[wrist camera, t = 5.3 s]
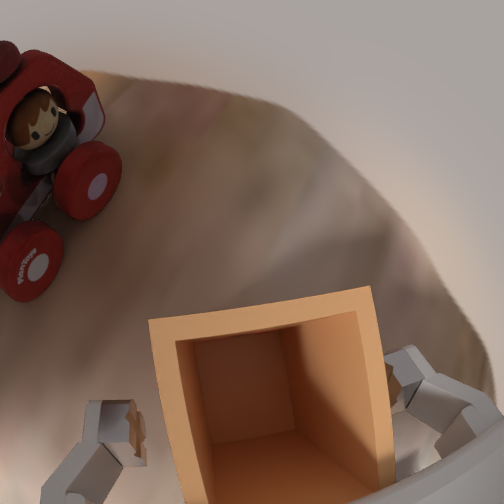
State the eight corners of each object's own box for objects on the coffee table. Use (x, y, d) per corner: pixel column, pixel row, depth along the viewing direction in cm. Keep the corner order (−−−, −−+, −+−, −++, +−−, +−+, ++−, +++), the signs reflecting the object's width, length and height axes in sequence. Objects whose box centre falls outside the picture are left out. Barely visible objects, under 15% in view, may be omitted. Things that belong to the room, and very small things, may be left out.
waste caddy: (302, 431, 14) (396, 503, 6) (204, 449, 13) (202, 554, 5) (283, 319, 16) (369, 285, 7) (182, 333, 15) (147, 319, 6)
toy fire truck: (149, 154, 17) (117, 1, 8) (27, 332, 14) (-120, 299, 4) (75, 115, 18) (28, -7, 8) (-34, 263, 14) (-145, 200, 4)
